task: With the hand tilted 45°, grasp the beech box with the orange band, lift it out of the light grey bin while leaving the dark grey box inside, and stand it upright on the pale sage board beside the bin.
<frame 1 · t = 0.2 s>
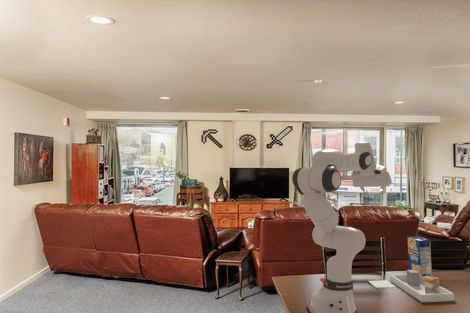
hand: (374, 193, 177), 52 cm above the table, tool tilted 20°, fingers open, 8 cm apart
bin: (419, 292, 168), on the table
banded box: (432, 295, 161), point 1 cm above the table, touching bin
sage board: (382, 285, 179), on the table
beverage box: (420, 275, 193), on the table
grey box: (413, 284, 177), point 1 cm above the table, touching bin
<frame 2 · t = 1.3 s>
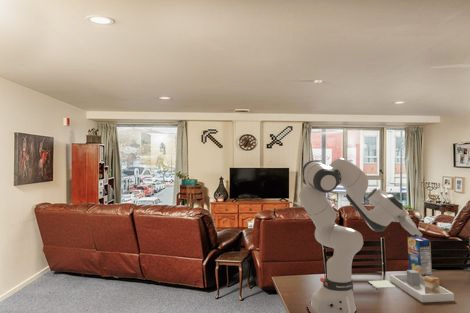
hand: (418, 230, 160), 34 cm above the table, tool tilted 50°, fingers open, 8 cm apart
nothing on the table moved.
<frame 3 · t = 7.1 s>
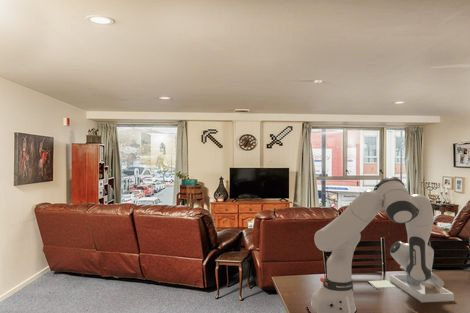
hand: (433, 285, 161), 6 cm above the table, tool tilted 45°, fingers closed on banded box, 4 cm apart
banded box: (432, 295, 161), point 1 cm above the table, touching bin, gripper
everything else where it was.
when the fingers open (7 cm above the table, at t = 14.7 s): banded box drops 2 cm, resting on sage board.
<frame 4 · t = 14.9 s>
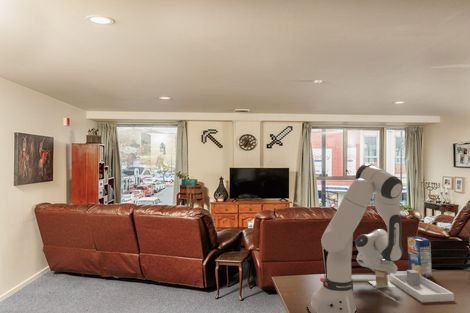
hand: (381, 272, 179), 7 cm above the table, tool tilted 45°, fingers open, 6 cm apart
banded box: (381, 283, 179), point 1 cm above the table, touching sage board
everything else where it was.
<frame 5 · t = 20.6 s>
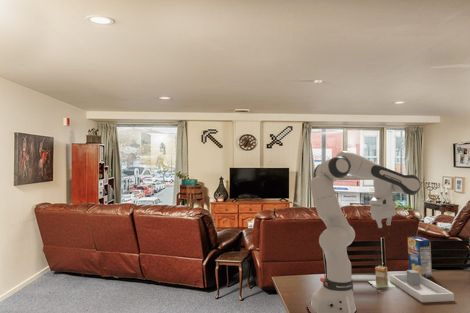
hand: (384, 226, 167), 35 cm above the table, tool pointing down, fingers open, 8 cm apart
nothing on the table moved.
at the end: banded box inside the target area on the sage board (0.1 cm from its centre), point 1.0 cm above the sage board's base; banded box tilted 0°; grey box moved 0.0 cm from its start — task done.
